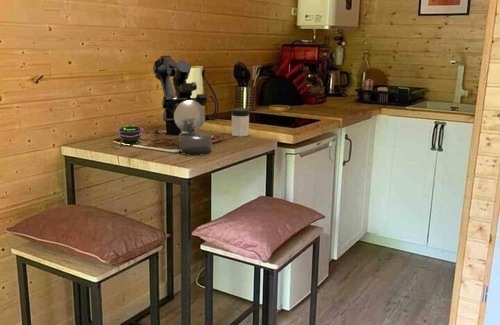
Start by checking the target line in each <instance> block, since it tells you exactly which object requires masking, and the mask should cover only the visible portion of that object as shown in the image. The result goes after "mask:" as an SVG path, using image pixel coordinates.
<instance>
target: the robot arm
mask: <svg viewBox="0 0 500 325" xmlns="http://www.w3.org/2000/svg"><path fill="white" fill-rule="evenodd" d="M191 69H192V66H191V65H190V64H189V63H187V61H185V60H182V59H181V60H179V61H178V62H176V61H175V60H174V59H173V58H172V56H171V55H161V56H159V57H158V59H157V60H155V61H154V62H153V66H152V71H153V74H154V75H155V76H154V77H155V78H156V79H157V80H158V81H159V82H160V85H161V88H162V91H163V97H162V101H161V106H162V109H164V111H163V113H162V120H163V121H164V123H165V133H164V135H165V136H167V135H169V136H180V135H181V134H183V130H181V129H180V128H179V127H178V126H177V125H176V123H175V121H174V112H175V109H176V107H177V106H178V105H179V104H180V103H181V101H186V100H193V101H196V102H198V103H199V104H201V106H202V107H203V108H204V107H205V106H206V103H207V101H208V96H207V94H206V93H197V94H196V97H192V96H193V93H192V92H194V91H197V89H198V85H197V82H196V81H192V82H188V81H187V80H188V79H189V76H190V72H191ZM171 77H172V79H171ZM171 80H172V81H171ZM173 87H174V88H173Z"/></svg>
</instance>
